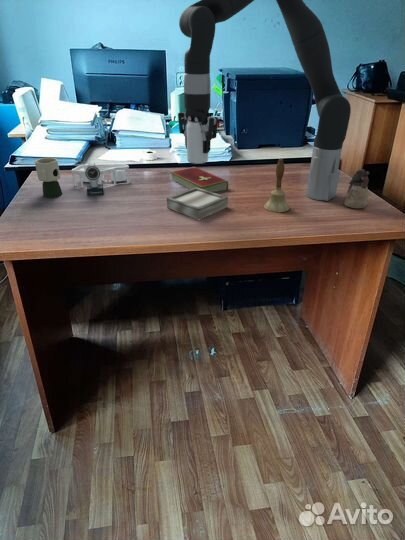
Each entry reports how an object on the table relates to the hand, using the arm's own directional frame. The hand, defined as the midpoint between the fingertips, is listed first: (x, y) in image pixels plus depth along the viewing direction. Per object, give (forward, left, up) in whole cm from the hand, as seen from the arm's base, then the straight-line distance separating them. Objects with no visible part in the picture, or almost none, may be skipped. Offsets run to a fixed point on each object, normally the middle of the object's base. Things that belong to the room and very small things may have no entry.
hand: (197, 150), depth 121 cm
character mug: (+43, +27, -19) cm, 54 cm away
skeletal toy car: (+41, +8, -19) cm, 46 cm away
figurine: (-37, -38, -19) cm, 56 cm away
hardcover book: (+15, -17, -19) cm, 30 cm away
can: (0, 0, -3) cm, 3 cm away
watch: (+34, +16, -19) cm, 42 cm away
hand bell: (-19, -18, -19) cm, 32 cm away
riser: (0, 0, -19) cm, 19 cm away
